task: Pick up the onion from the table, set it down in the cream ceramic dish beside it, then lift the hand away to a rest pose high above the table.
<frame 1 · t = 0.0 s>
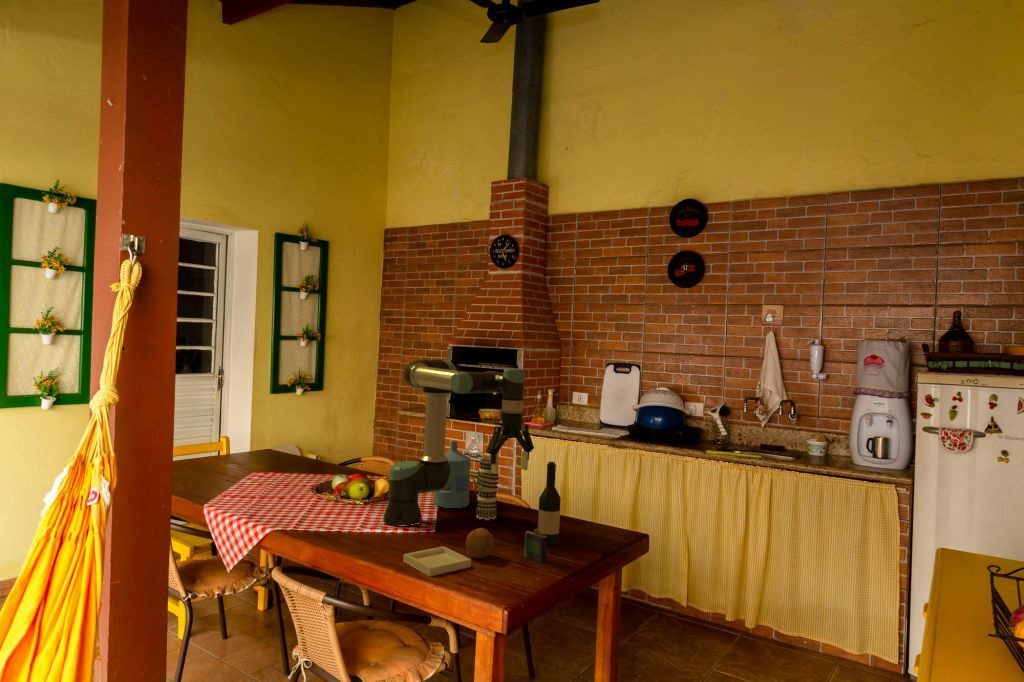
hand: (509, 471, 245), 28 cm above the table, tool pointing down, fingers open, 13 cm apart
onion: (479, 558, 235), on the table
flask: (535, 560, 236), on the table
water jug: (451, 505, 304), on the table
dish: (436, 564, 226), on the table
decorative candle: (486, 517, 286), on the table
wine bottle: (547, 543, 256), on the table
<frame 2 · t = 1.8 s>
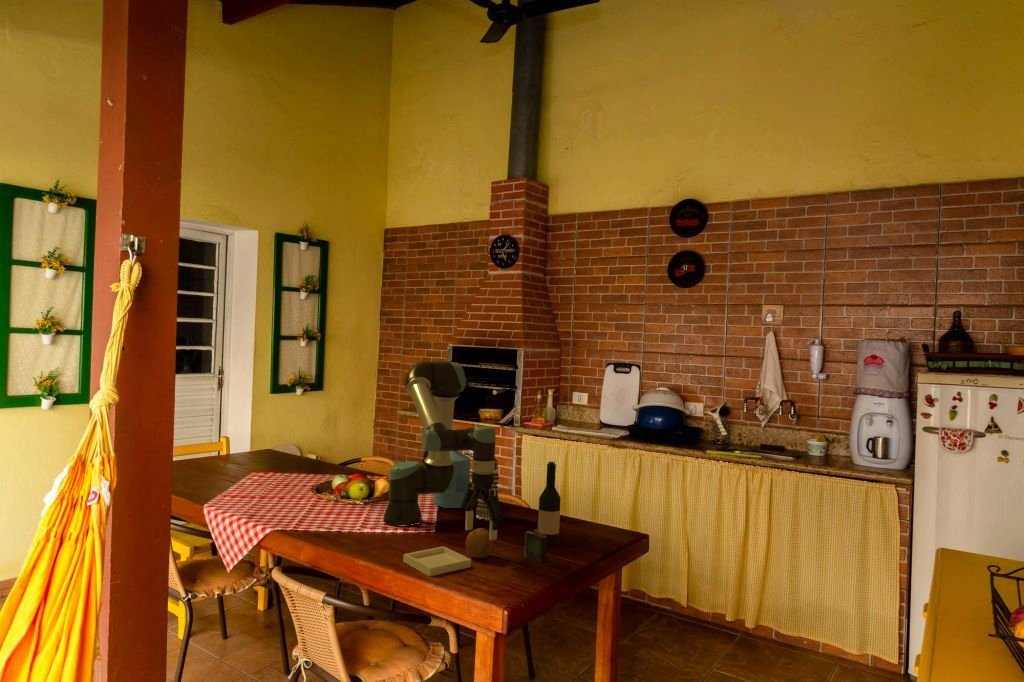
hand: (480, 534, 235), 8 cm above the table, tool pointing down, fingers open, 13 cm apart
nothing on the table moved.
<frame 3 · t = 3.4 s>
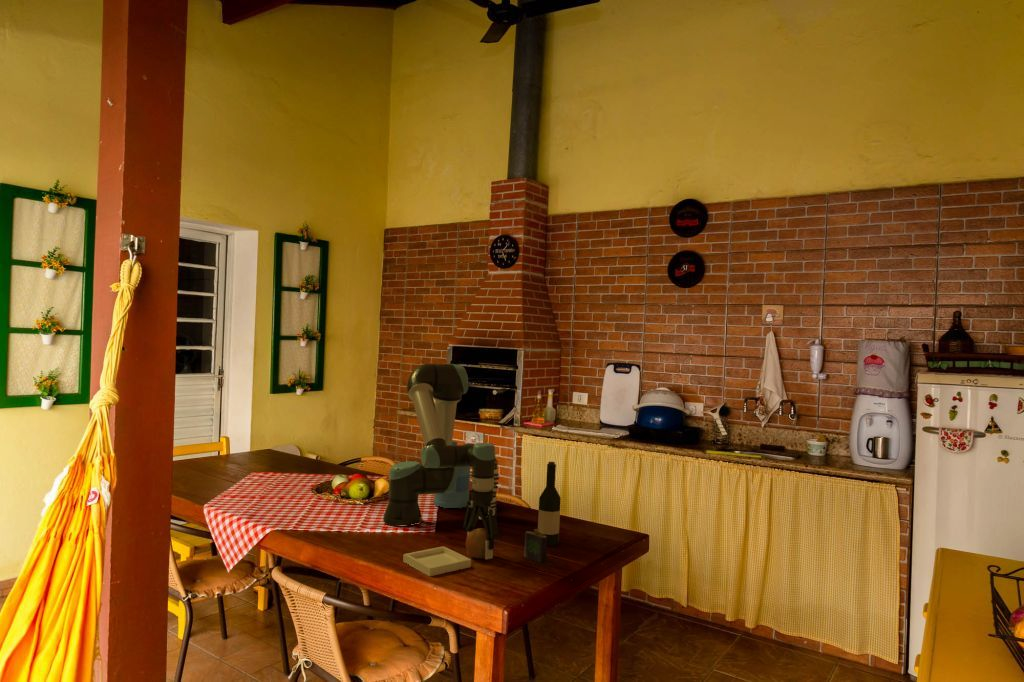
hand: (479, 554, 235), 1 cm above the table, tool pointing down, fingers closed on onion, 10 cm apart
onion: (479, 558, 235), on the table, touching gripper
everything else where it was.
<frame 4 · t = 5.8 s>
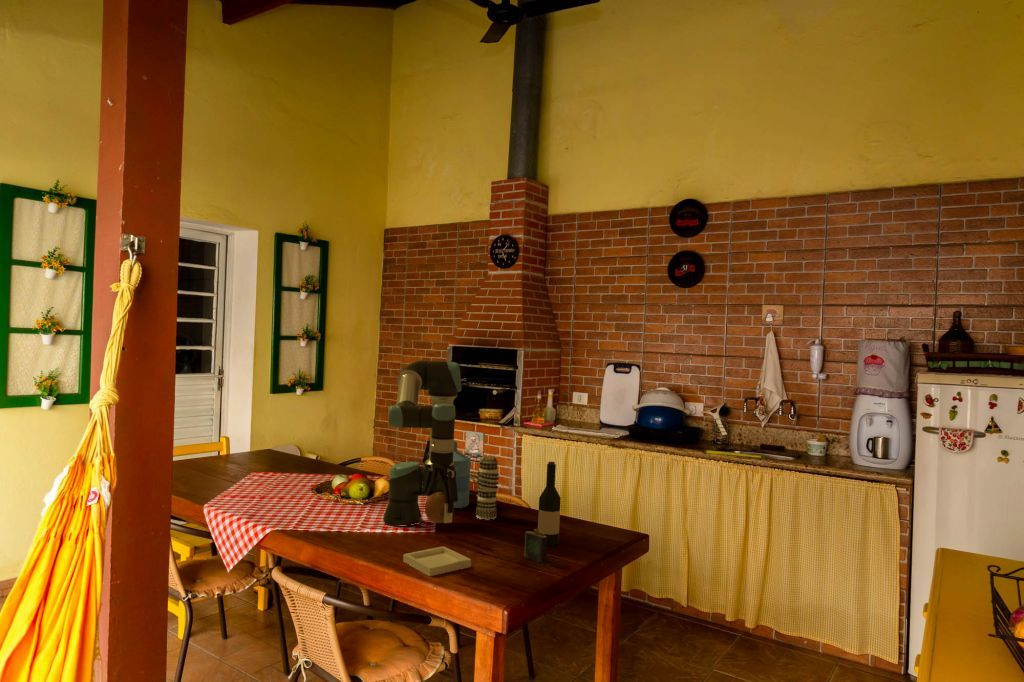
hand: (439, 518, 226), 15 cm above the table, tool pointing down, fingers closed on onion, 10 cm apart
onion: (438, 522, 226), point 14 cm above the table, touching gripper
everything else where it was.
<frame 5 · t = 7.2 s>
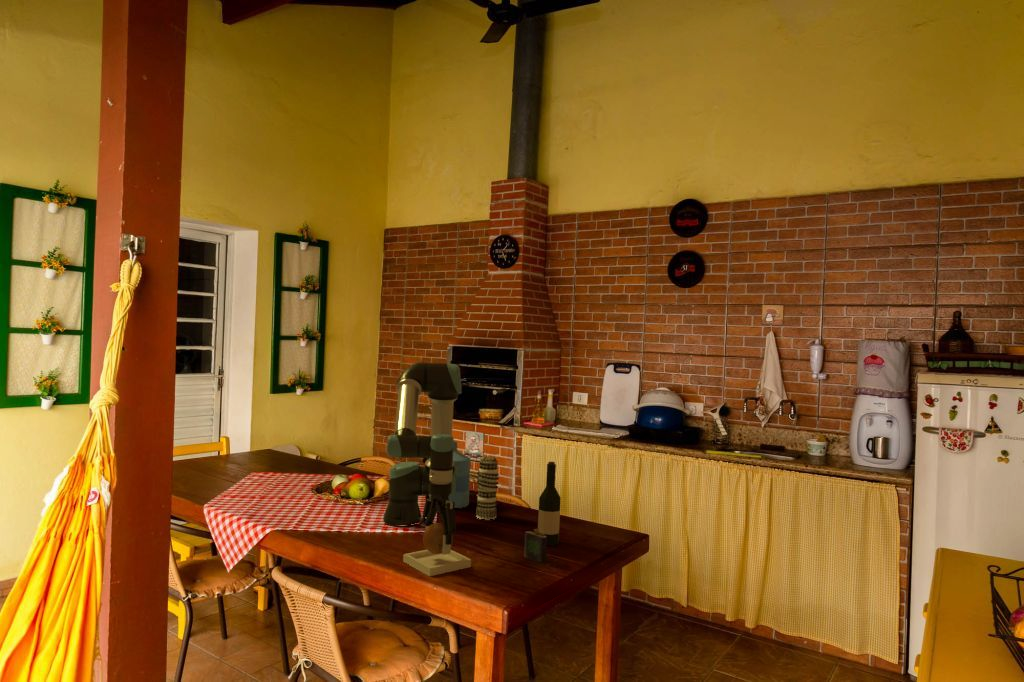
hand: (437, 549, 226), 5 cm above the table, tool pointing down, fingers closed on onion, 10 cm apart
onion: (437, 553, 226), point 4 cm above the table, touching gripper
everything else where it was.
when the fingers open (4 cm above the table, at t = 8.3 s): onion drops 2 cm, resting on dish.
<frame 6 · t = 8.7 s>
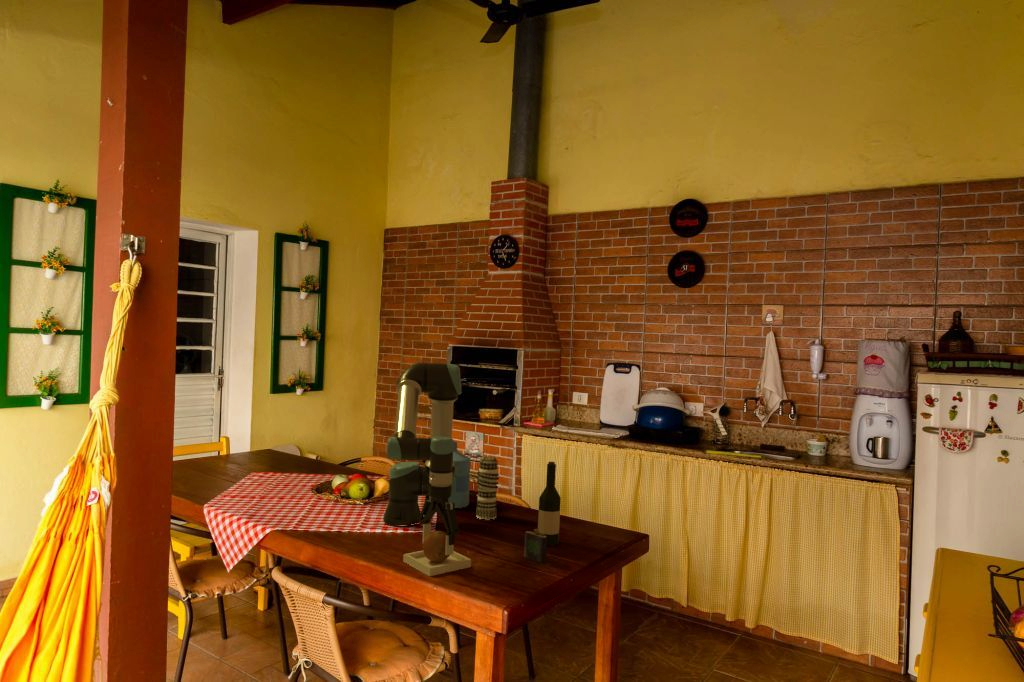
hand: (437, 548, 226), 5 cm above the table, tool pointing down, fingers open, 13 cm apart
onion: (436, 561, 227), point 1 cm above the table, touching dish
everything else where it was.
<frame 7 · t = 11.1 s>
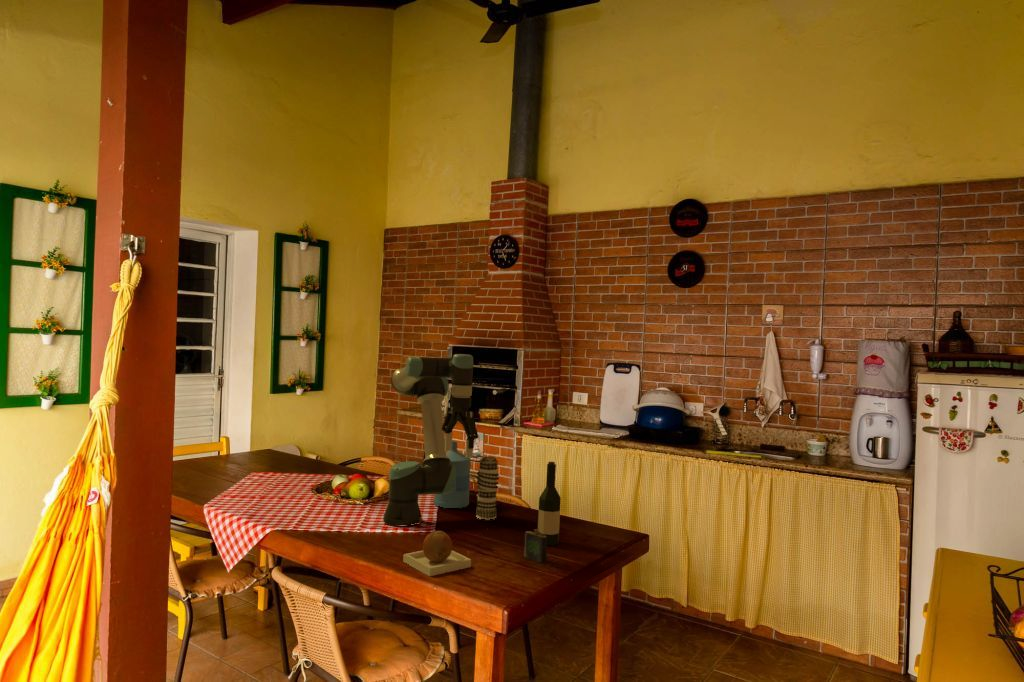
hand: (458, 454, 253), 32 cm above the table, tool pointing down, fingers open, 13 cm apart
nothing on the table moved.
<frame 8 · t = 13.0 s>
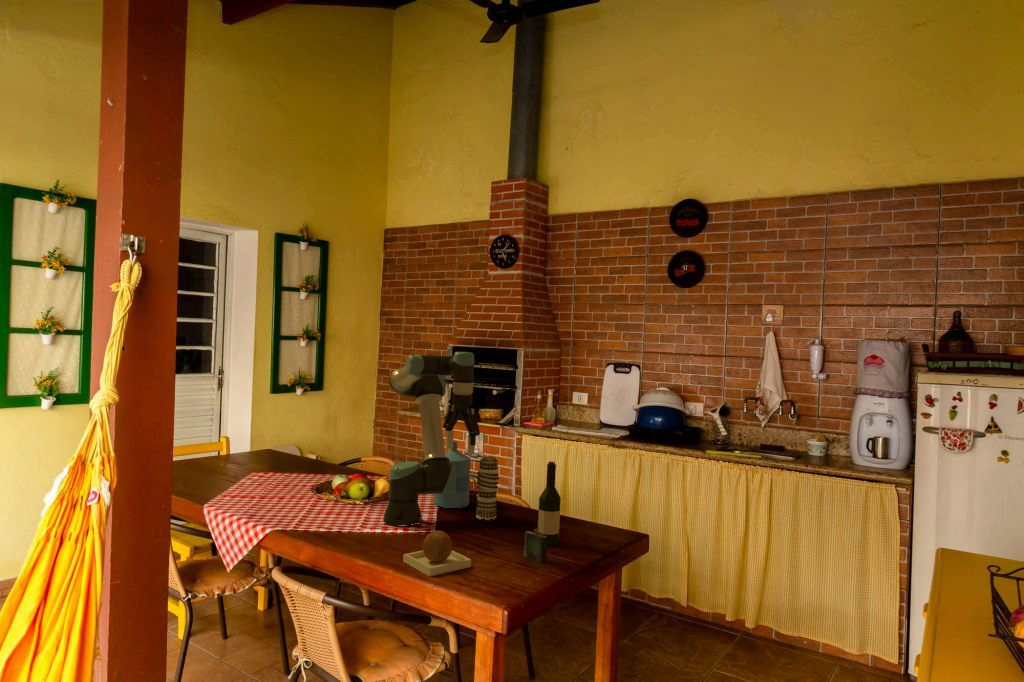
hand: (459, 451, 254), 33 cm above the table, tool pointing down, fingers open, 13 cm apart
nothing on the table moved.
at the end: onion inside the target area on the dish (0.1 cm from its centre), point 0.8 cm above the dish's base; the gripper is holding nothing; onion moved 16.1 cm from its start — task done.
